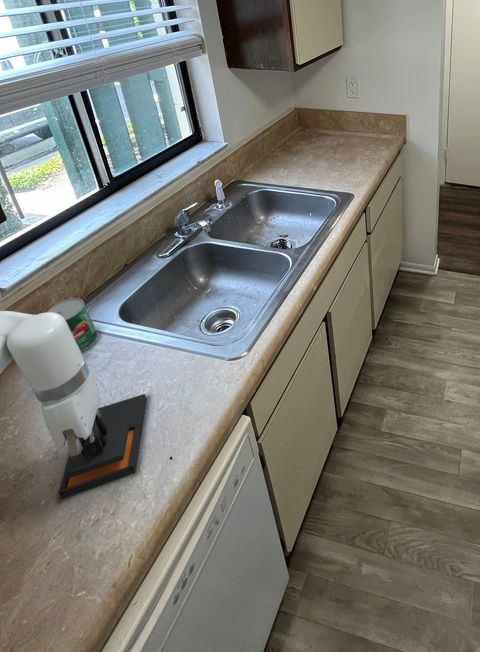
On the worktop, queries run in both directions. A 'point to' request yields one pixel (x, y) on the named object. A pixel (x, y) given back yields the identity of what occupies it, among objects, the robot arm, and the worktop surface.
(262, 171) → the worktop surface
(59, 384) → the robot arm
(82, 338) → the canned tomato
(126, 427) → the black pad
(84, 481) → the base pad
